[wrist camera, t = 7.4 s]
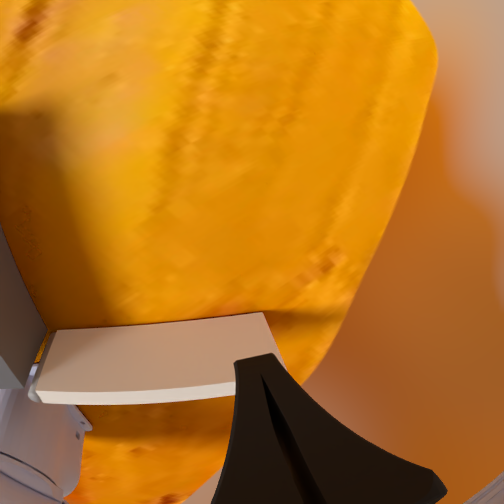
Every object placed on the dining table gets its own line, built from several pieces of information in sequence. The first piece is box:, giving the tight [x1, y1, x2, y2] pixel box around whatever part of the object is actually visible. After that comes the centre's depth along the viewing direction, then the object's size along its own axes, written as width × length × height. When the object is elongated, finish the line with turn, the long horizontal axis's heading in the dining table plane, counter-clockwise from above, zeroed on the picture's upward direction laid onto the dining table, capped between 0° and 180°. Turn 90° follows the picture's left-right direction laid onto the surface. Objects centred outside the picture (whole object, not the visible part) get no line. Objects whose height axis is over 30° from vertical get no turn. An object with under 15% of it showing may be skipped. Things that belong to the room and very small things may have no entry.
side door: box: [28, 312, 288, 405], centre depth 18 cm, size 16×2×6 cm, turn 90°
